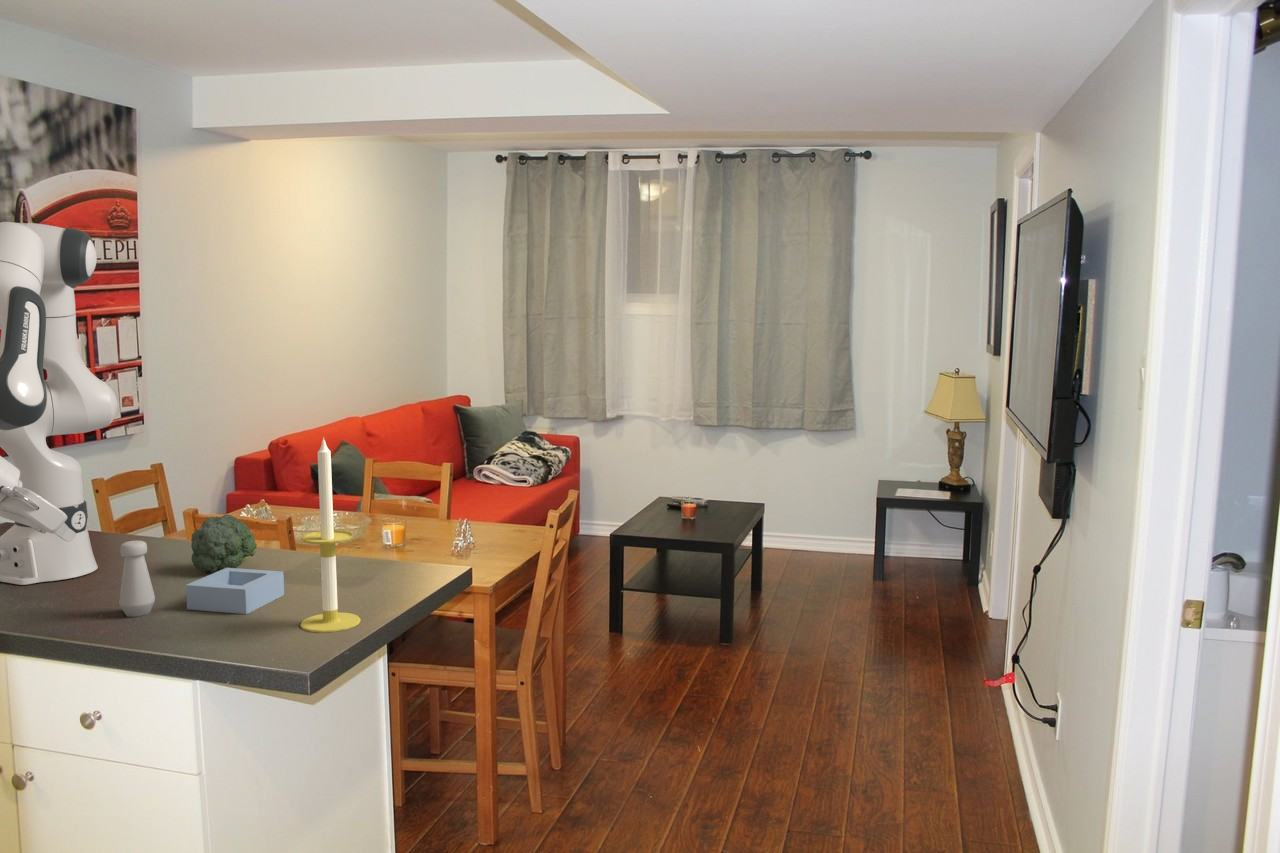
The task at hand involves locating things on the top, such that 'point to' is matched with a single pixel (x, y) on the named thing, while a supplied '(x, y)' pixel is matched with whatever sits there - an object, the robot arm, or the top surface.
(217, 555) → the vegetable
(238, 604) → the container
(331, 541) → the candle
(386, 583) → the top surface
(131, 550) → the salt shaker
